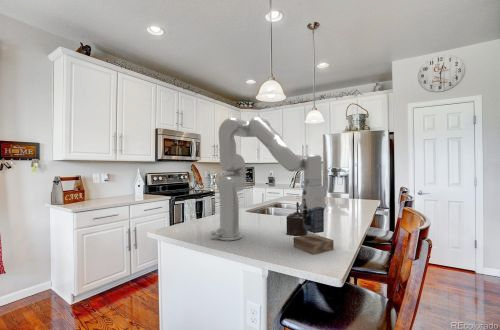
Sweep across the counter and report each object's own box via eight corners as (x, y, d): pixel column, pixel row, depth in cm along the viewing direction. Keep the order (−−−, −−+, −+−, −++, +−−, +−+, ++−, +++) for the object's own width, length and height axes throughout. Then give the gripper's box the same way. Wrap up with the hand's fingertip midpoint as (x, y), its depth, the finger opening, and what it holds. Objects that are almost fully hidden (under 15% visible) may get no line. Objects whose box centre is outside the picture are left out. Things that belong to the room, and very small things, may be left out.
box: (302, 229, 113) (302, 205, 113) (312, 228, 115) (312, 204, 115) (313, 233, 105) (313, 208, 105) (324, 232, 108) (324, 207, 108)
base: (313, 254, 102) (313, 244, 102) (293, 246, 112) (293, 237, 112) (333, 249, 108) (333, 240, 108) (313, 242, 118) (313, 233, 118)
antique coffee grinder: (285, 235, 131) (285, 200, 131) (289, 229, 141) (289, 197, 141) (316, 238, 125) (315, 201, 126) (318, 232, 136) (318, 199, 136)
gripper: (303, 184, 103) (304, 228, 102) (333, 182, 111) (333, 223, 111) (291, 183, 109) (292, 224, 109) (320, 181, 118) (320, 220, 118)
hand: (313, 223), depth 110 cm, fingers closed on box, 6 cm apart
